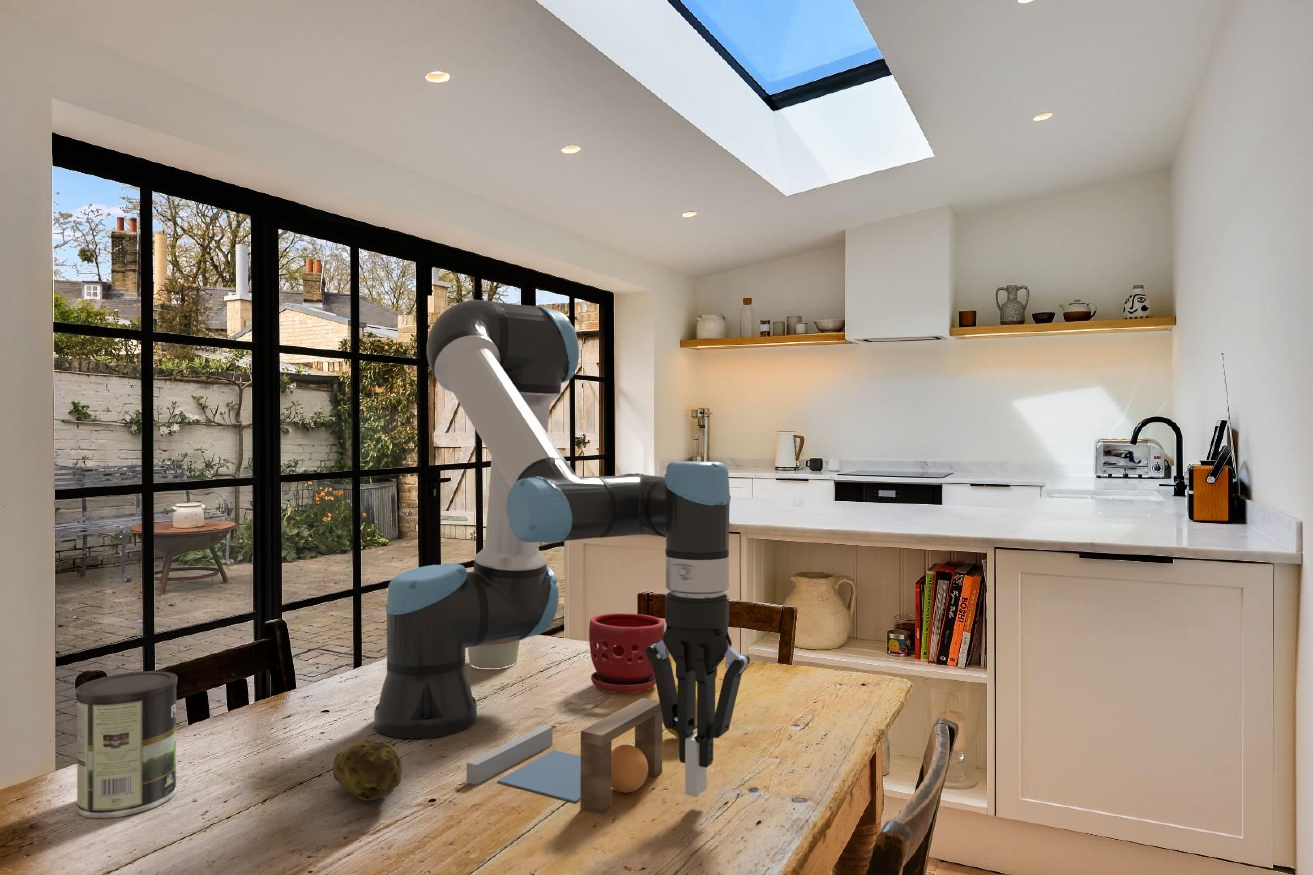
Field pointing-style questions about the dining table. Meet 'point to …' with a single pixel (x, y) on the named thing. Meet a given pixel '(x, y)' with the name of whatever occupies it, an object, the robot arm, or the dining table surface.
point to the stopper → (508, 754)
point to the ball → (628, 768)
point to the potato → (368, 769)
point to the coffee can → (126, 743)
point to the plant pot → (623, 651)
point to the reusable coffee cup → (494, 654)
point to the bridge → (598, 750)
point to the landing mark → (550, 776)
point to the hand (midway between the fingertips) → (695, 791)
